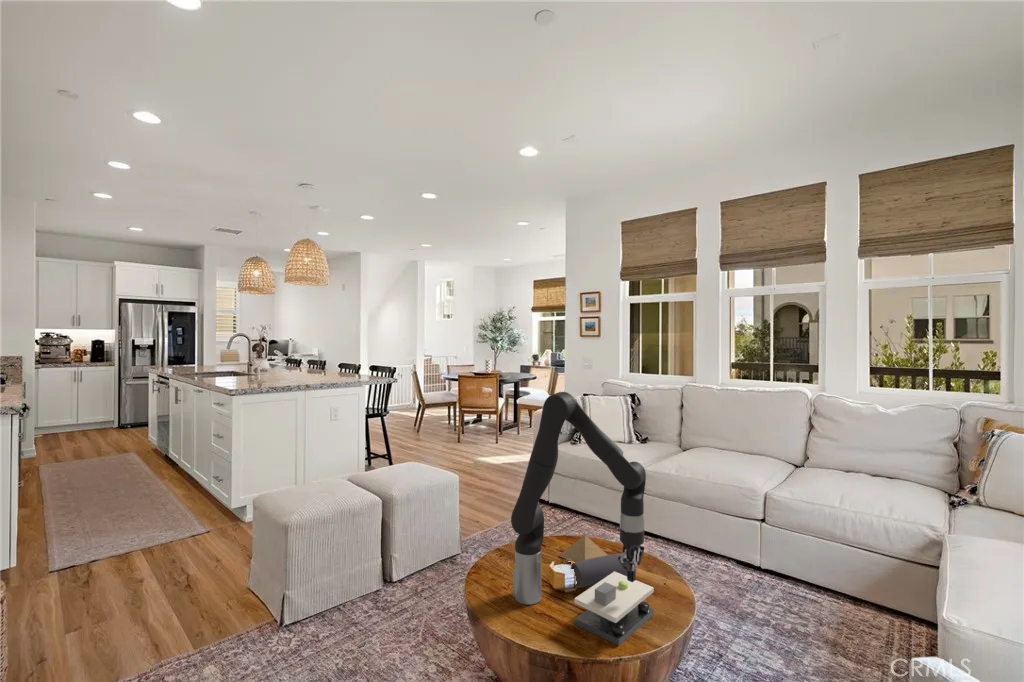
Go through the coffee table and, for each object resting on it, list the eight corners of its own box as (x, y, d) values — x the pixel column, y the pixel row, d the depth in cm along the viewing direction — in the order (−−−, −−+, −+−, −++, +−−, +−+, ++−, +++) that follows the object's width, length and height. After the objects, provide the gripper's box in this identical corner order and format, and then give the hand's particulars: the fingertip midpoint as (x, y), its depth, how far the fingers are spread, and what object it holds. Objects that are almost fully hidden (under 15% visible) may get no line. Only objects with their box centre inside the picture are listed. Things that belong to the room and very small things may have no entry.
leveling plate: (574, 606, 160) (574, 586, 159) (614, 578, 177) (614, 560, 177) (615, 626, 150) (616, 605, 149) (653, 595, 167) (654, 575, 167)
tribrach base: (574, 624, 161) (574, 605, 161) (611, 597, 177) (611, 580, 177) (618, 646, 150) (618, 625, 150) (653, 614, 166) (653, 596, 166)
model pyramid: (555, 557, 209) (555, 533, 209) (585, 546, 219) (585, 523, 219) (583, 572, 196) (583, 547, 196) (614, 560, 206) (614, 536, 206)
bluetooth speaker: (621, 572, 195) (621, 547, 195) (635, 584, 186) (635, 557, 186) (569, 583, 187) (569, 557, 187) (581, 596, 178) (581, 568, 178)
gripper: (631, 517, 166) (631, 569, 167) (610, 529, 156) (609, 584, 157) (652, 523, 161) (652, 577, 161) (632, 536, 151) (631, 593, 152)
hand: (631, 580), depth 159 cm, fingers closed
